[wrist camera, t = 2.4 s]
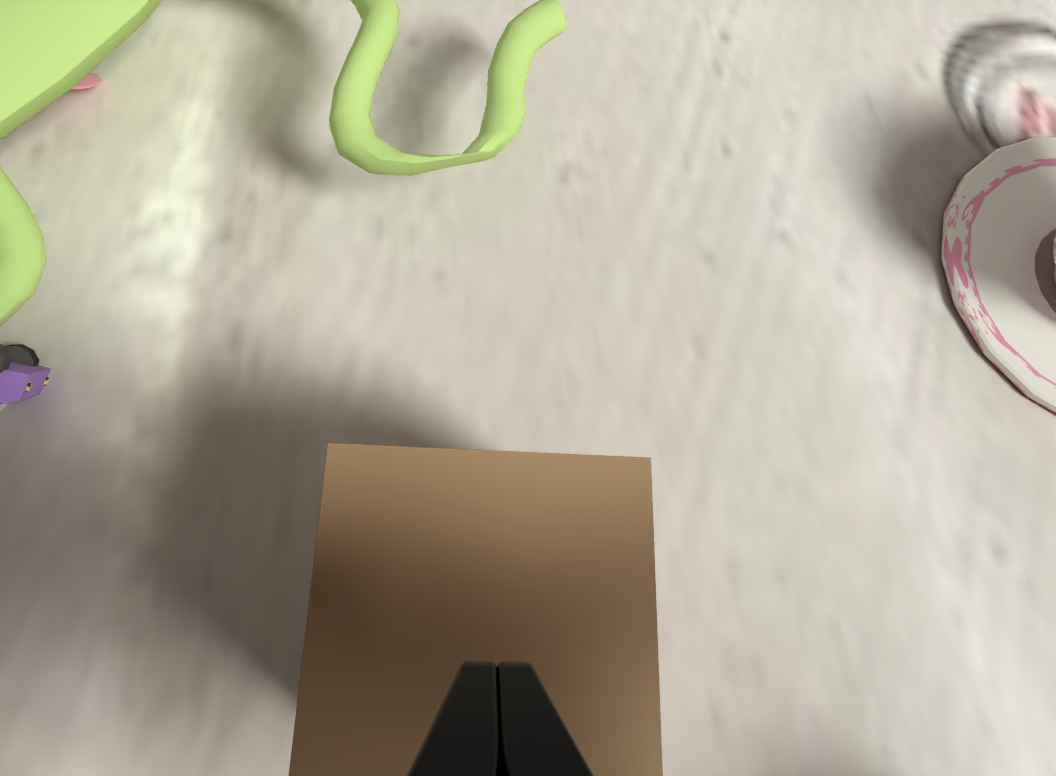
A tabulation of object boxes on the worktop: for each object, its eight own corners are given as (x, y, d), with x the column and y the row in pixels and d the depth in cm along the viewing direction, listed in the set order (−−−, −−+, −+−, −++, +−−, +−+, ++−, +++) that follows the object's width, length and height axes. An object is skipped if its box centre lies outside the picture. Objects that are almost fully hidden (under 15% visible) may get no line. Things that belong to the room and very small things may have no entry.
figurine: (604, 183, 26) (643, 64, 20) (-239, 584, 19) (-506, 561, 14) (361, -153, 30) (343, -321, 25) (-394, 75, 23) (-641, -92, 18)
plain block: (580, 751, 19) (664, 819, 12) (350, 748, 19) (283, 819, 11) (579, 523, 21) (651, 457, 14) (372, 515, 21) (327, 442, 13)
